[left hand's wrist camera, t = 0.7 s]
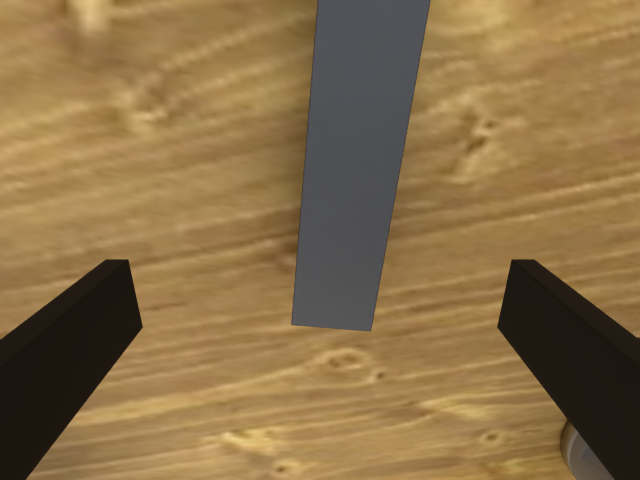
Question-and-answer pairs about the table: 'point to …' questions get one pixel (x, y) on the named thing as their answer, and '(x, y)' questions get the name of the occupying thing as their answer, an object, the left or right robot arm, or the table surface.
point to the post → (354, 154)
